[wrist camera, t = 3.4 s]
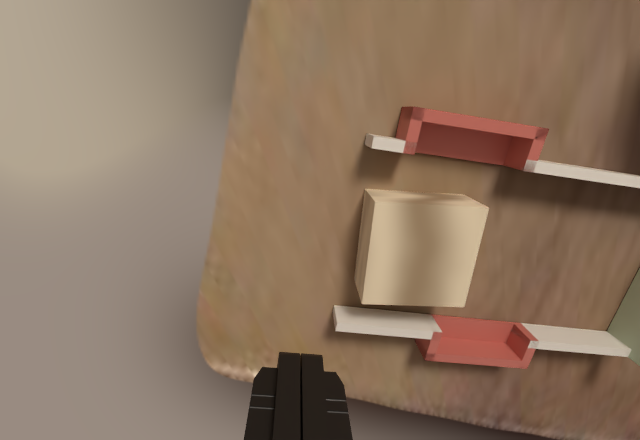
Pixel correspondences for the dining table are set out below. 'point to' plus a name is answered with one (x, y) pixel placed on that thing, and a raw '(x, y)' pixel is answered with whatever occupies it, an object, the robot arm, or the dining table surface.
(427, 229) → the birch block
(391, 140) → the trap lane
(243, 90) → the dining table surface
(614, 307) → the dining table surface
